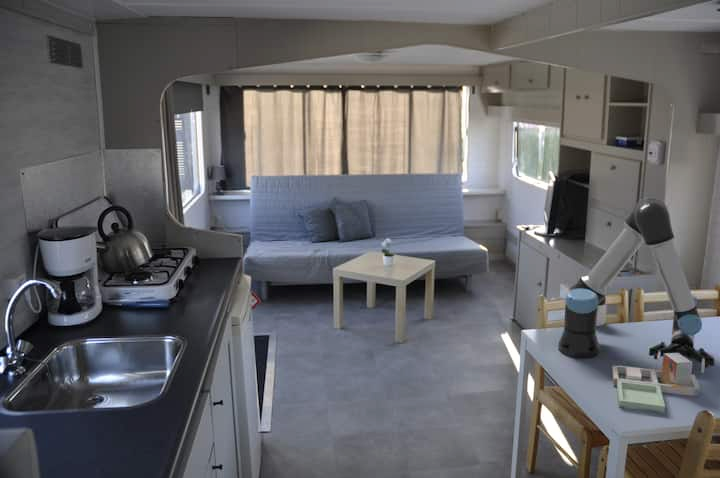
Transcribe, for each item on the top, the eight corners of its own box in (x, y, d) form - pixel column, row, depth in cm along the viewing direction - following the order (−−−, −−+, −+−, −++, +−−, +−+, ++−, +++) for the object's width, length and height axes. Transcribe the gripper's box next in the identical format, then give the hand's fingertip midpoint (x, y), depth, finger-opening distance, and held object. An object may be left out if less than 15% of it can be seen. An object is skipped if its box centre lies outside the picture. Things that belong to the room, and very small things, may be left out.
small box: (660, 381, 209) (662, 352, 206) (675, 380, 209) (678, 352, 207) (673, 392, 201) (676, 362, 199) (689, 391, 201) (693, 361, 199)
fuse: (626, 384, 207) (627, 375, 206) (625, 375, 213) (625, 366, 213) (641, 386, 205) (641, 377, 205) (639, 377, 212) (640, 368, 211)
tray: (619, 407, 192) (619, 400, 191) (616, 386, 205) (617, 380, 205) (664, 413, 187) (665, 406, 187) (659, 392, 201) (659, 385, 200)
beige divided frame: (613, 385, 206) (614, 378, 205) (612, 371, 217) (612, 364, 216) (699, 396, 197) (700, 388, 197) (693, 381, 208) (694, 373, 208)
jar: (595, 328, 258) (597, 301, 255) (579, 322, 265) (580, 296, 262) (608, 323, 263) (610, 297, 260) (592, 318, 269) (593, 292, 267)
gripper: (720, 359, 219) (721, 382, 201) (644, 347, 231) (639, 368, 213) (722, 339, 217) (723, 362, 199) (646, 328, 229) (641, 348, 211)
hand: (680, 365), depth 206 cm, fingers open, 13 cm apart
